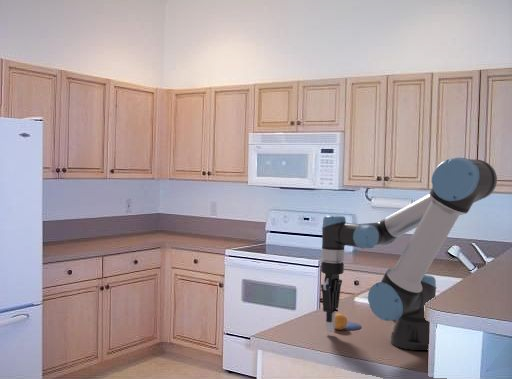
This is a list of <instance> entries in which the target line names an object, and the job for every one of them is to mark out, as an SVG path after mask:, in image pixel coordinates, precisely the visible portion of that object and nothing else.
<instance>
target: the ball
mask: <svg viewBox="0 0 512 379" xmlns="http://www.w3.org/2000/svg"><path fill="white" fill-rule="evenodd" d="M347 321H348V318H347V317H346V315H344V314H342V313H335V330H339V331H343V330H342V329H344V328H345V327H346V326H347Z"/></svg>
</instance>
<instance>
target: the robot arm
mask: <svg viewBox="0 0 512 379" xmlns="http://www.w3.org/2000/svg"><path fill="white" fill-rule="evenodd" d="M497 183H498V176H497V172H496V170H495V169H494V167H493V165H491V164H490V163H489V162H486V161H485V160H481V159H472V158H466V157H454V158H449V159H446V160H443V161H441V163H440V164H438V165H437V166H436V167H435V169H434V171H433V172H432V176H431V184H432V186H431V189H430V192H429V193H428V194H427V195H425V196H423V197H420V198H419V199H418V200H416V201H414V202H412V203H410V204H408V205H407V206H405V207H402V208H401V209H399V210H397V211H396V212H394V213H392V214H390V215H388V216H387V217H385V218H382V219H381V220H379V221H378V222H371V223H370V222H368V223H352V222H347V220H346V217H345V216H344V215H338V214H337V215H336V214H333V215H332V214H330V215H329V214H327V215H324V216H323V220H322V227H321V232H322V234H321V236H322V237H321V239H322V240H321V242H322V243H321V250H320V253H321V260H322V261H321V264H320V271H321V273H322V274H325V275H324V282H323V283H321V284H320V288H321V295H322V296H321V297H322V309H323V310H322V311H323V312H324V313H325V331H326V332H331V333H334V332H335V331H336V329H335V315H336V312H339V304H340V295H341V288H342V284H343V280H342V279H340V275H343V274H344V269H345V265H344V261H345V246H347V247H354V248H359V249H363V250H364V249H373V248H375V246H383V245H384V246H385V245H389V244H392V243H394V242H395V241H396V240H397V239H398V237H401V236H402V235H405V234H407V233H409V232H411V231H413V230H414V229H415V230H414V232H413V233H412V235H411V237H410V239H409V240H408V243H407V244H406V246H405V248H404V250H402V253H401V255H400V257H399V259H398V260H397V263H396V265H395V266H394V267H390V268H388V269H387V270H386V272H385V274H384V275H383V277H382V278H381V281H380V282H379V281H378V282H376V283H374V284H373V285H372V286H371V287H370V288H369V289H368V290H369V291H368V293H367V302H368V303H369V307H370V310H371V312H372V313H373V314H374V316H375V317H377V318H379V319H380V320H381V321H385V322H391V321H395V324H394V326H393V328H392V329H393V331H392V332H391V333H390V343H391V344H392V345H393V346H395V347H397V348H399V347H400V348H399V349H403V348H404V350H407V349H410V350H409V351H413V350H427V349H428V344H429V322H428V321H426V320H425V318H424V305H425V303H426V302H428V301H429V300H431V299H432V298H434V297H435V298H436V294H437V293H436V290H437V286H436V285H437V284H436V282H437V281H436V278H435V277H434V276H433V275H429V274H427V272H428V270H429V268H430V267H431V265H432V264H433V261H434V260H435V258H436V256H437V255H438V253H439V251H440V250H441V247H442V246H443V244H444V242H445V241H446V239H447V237H448V236H449V234H450V233H451V230H452V229H453V227H454V226H455V224H456V222H457V220H458V218H459V217H460V216H461V215H465V214H468V212H469V211H470V209H471V207H472V206H473V204H474V203H477V202H479V201H481V200H483V199H486V198H487V197H488V196H489V197H490V195H491V194H493V192H494V191H495V189H496V187H497Z"/></svg>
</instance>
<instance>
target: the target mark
mask: <svg viewBox="0 0 512 379" xmlns="http://www.w3.org/2000/svg"><path fill="white" fill-rule="evenodd" d="M360 329H362V325H361V324H360V323H357V322H352V321H348V320H347V326H346V327H345V328H344V329H342V330H341V331H358V330H360Z"/></svg>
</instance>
